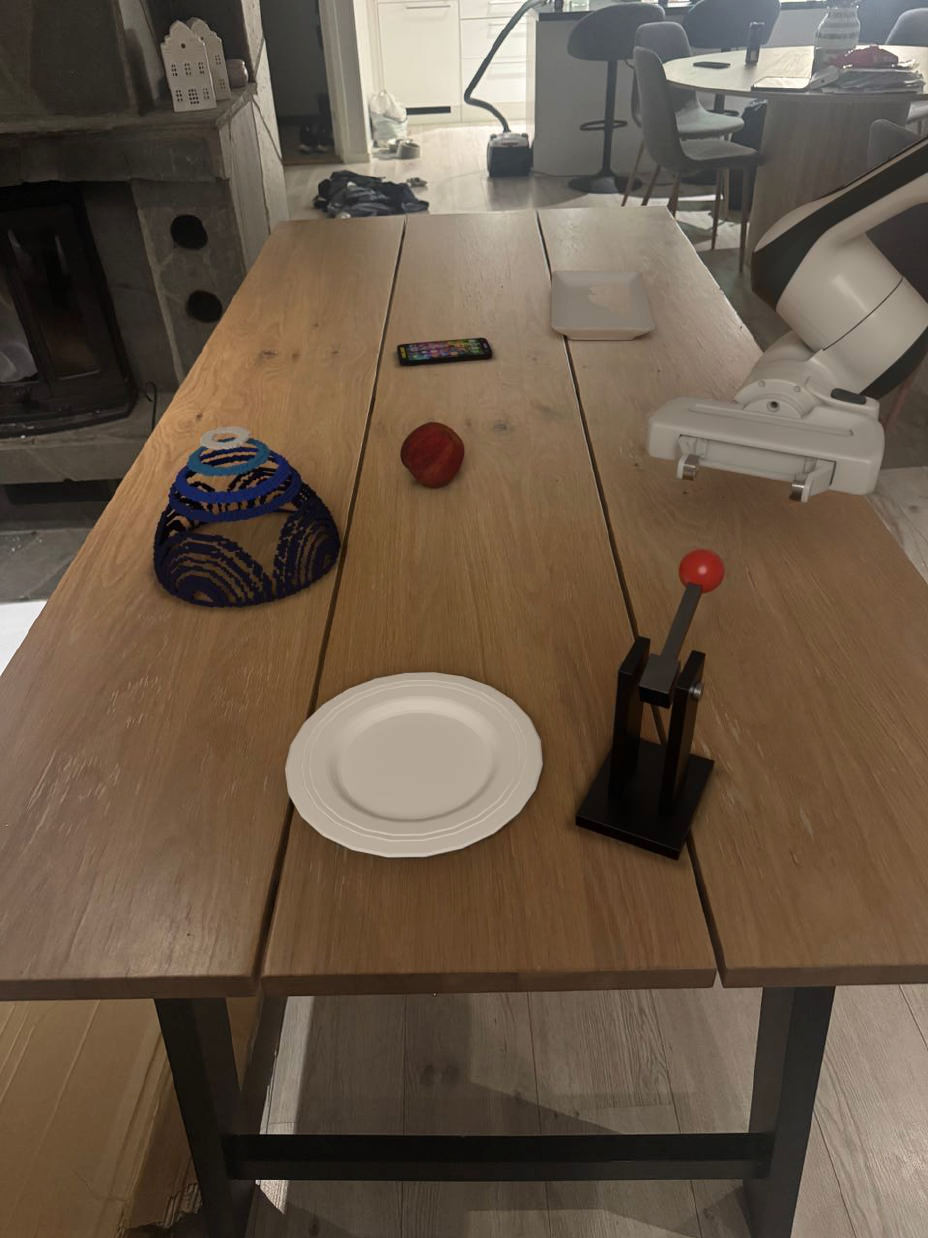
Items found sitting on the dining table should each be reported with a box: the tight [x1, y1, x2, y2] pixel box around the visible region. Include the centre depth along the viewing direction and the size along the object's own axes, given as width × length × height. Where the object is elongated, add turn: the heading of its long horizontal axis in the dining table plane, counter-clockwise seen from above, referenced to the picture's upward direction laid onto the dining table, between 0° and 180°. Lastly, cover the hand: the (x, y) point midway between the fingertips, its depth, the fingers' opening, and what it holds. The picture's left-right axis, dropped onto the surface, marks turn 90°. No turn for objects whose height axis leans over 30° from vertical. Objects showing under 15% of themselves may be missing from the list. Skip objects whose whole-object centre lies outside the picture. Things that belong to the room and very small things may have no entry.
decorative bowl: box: [152, 425, 342, 609], centre depth 99 cm, size 20×20×14 cm
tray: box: [550, 270, 656, 341], centre depth 162 cm, size 17×31×4 cm, turn 175°
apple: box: [399, 421, 466, 488], centre depth 113 cm, size 7×8×8 cm
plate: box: [284, 671, 544, 860], centre depth 76 cm, size 21×21×2 cm
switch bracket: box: [575, 635, 716, 862], centre depth 69 cm, size 10×8×14 cm
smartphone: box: [396, 337, 493, 366], centre depth 150 cm, size 8×1×15 cm
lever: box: [638, 547, 726, 710], centre depth 68 cm, size 13×3×3 cm, turn 153°
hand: (740, 483), depth 77 cm, fingers open, 8 cm apart
